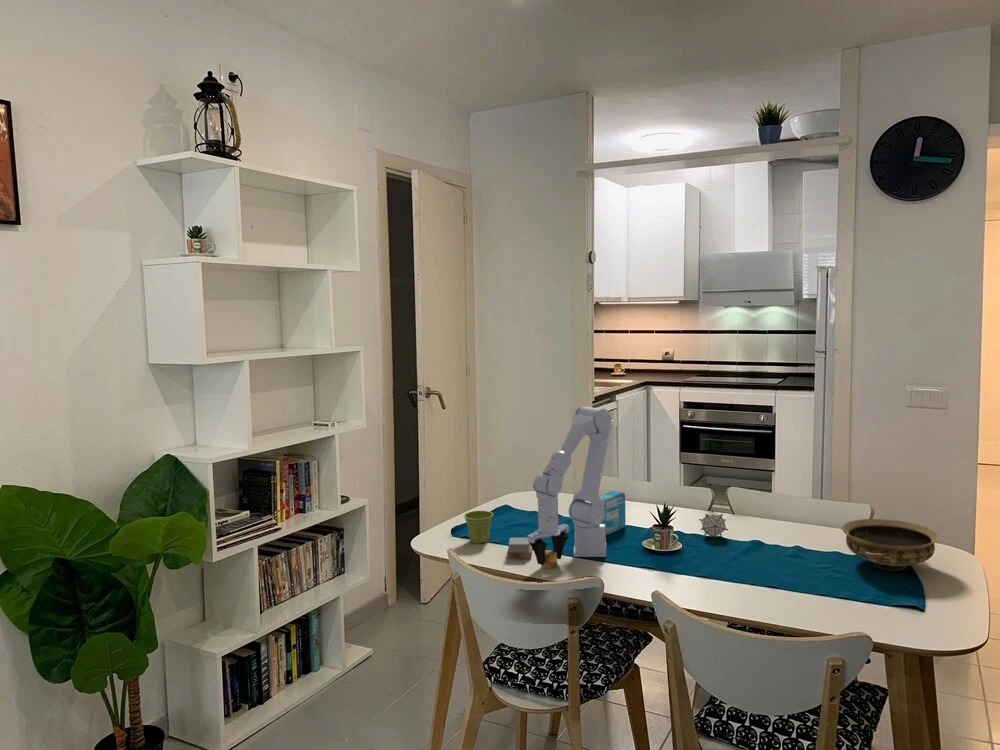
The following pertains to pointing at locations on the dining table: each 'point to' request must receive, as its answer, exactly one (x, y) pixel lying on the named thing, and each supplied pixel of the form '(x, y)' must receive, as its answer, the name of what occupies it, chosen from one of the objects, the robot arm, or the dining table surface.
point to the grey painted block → (519, 545)
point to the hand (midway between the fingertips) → (549, 561)
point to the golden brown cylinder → (550, 559)
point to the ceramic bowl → (890, 542)
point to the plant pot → (479, 525)
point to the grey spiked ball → (713, 524)
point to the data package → (613, 511)
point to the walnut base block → (520, 554)
